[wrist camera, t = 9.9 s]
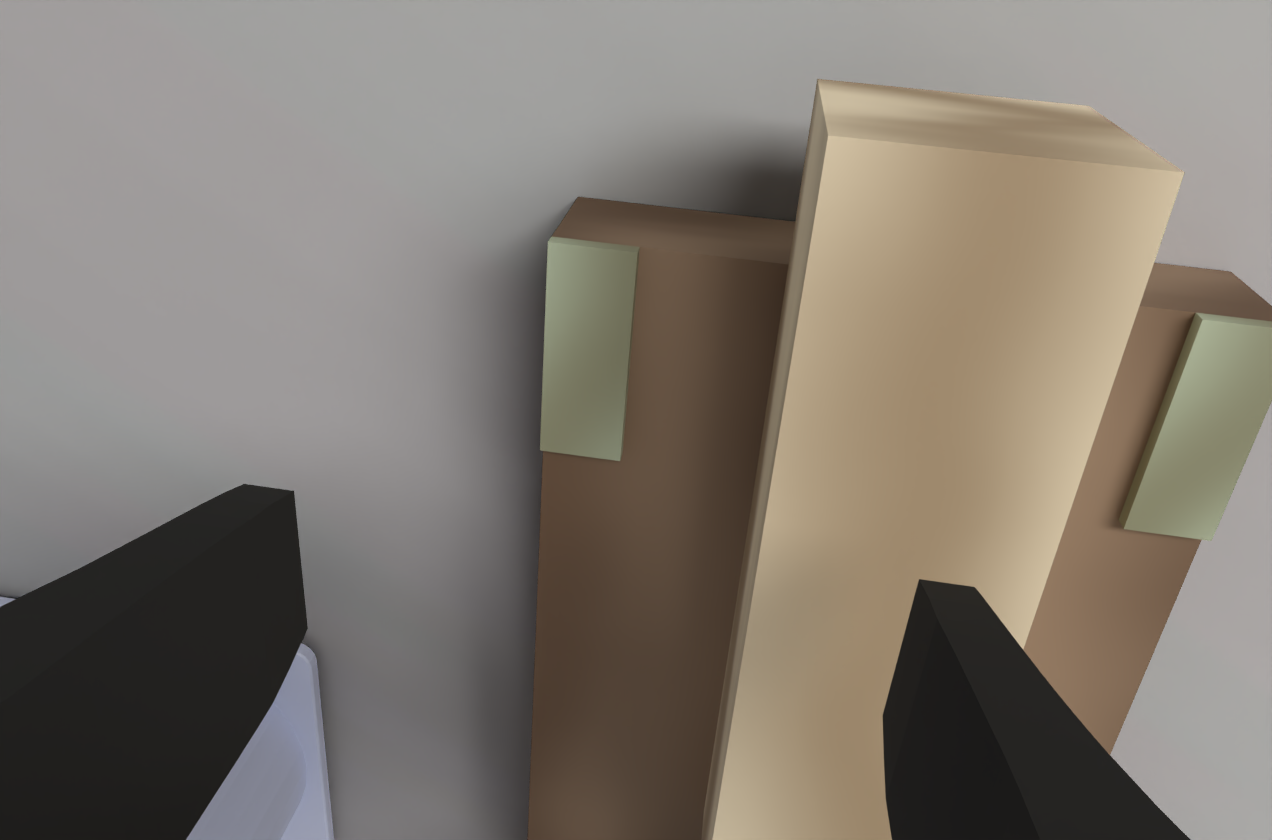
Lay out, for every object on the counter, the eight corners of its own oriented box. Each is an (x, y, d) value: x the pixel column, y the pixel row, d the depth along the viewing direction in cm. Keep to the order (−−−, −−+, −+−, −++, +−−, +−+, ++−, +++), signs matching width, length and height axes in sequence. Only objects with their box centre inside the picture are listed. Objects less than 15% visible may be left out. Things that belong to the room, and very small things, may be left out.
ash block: (703, 810, 23) (689, 979, 19) (817, 78, 15) (827, 135, 12) (881, 838, 22) (899, 1014, 19) (1089, 106, 15) (1185, 172, 11)
